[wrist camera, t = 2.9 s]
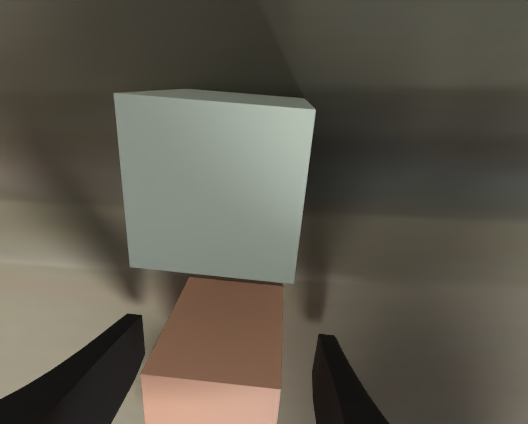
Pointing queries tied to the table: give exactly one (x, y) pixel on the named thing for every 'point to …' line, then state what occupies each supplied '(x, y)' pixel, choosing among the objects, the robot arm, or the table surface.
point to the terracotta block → (217, 356)
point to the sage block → (214, 181)
